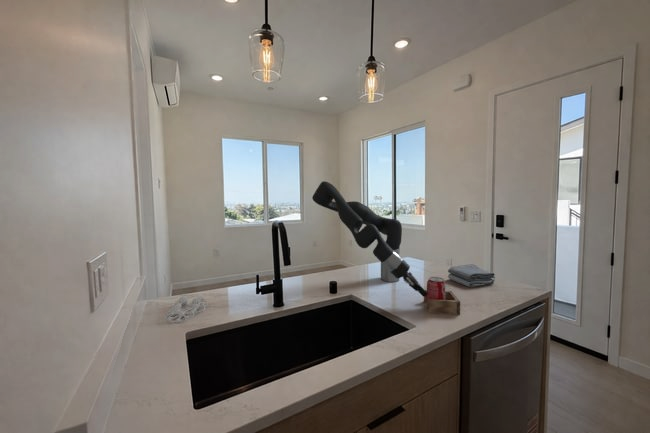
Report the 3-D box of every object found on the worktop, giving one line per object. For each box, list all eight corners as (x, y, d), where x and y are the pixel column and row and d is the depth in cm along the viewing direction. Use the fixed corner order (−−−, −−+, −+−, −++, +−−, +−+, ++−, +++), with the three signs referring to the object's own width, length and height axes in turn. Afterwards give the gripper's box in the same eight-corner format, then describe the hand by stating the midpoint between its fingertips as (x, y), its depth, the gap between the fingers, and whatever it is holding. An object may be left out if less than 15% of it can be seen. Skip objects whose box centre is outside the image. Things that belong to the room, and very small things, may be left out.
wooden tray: (429, 312, 108) (429, 300, 108) (423, 301, 120) (423, 290, 119) (460, 314, 106) (460, 301, 106) (451, 302, 118) (451, 291, 118)
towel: (446, 280, 150) (446, 265, 149) (472, 276, 156) (472, 262, 155) (469, 288, 136) (469, 273, 135) (497, 284, 142) (497, 269, 141)
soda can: (441, 304, 116) (442, 276, 115) (447, 311, 109) (448, 281, 108) (424, 304, 117) (424, 276, 116) (429, 311, 110) (429, 281, 109)
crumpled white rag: (194, 326, 102) (195, 316, 101) (153, 325, 100) (154, 314, 100) (212, 304, 121) (212, 295, 120) (178, 303, 120) (178, 294, 119)
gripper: (387, 266, 122) (415, 294, 121) (389, 274, 109) (421, 307, 108) (400, 254, 120) (428, 283, 119) (404, 262, 107) (436, 294, 106)
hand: (425, 294), depth 114 cm, fingers closed
